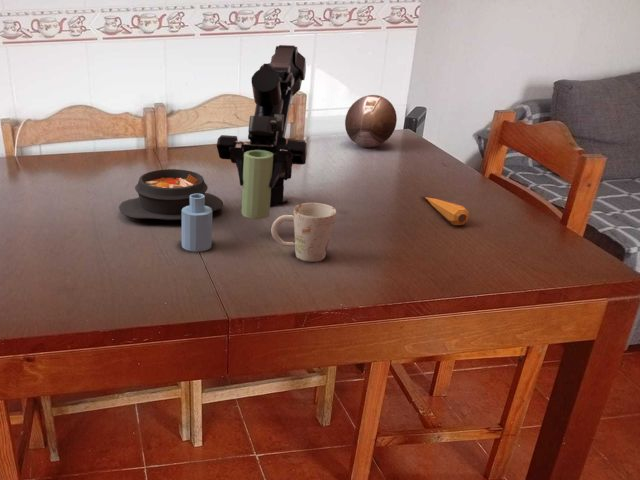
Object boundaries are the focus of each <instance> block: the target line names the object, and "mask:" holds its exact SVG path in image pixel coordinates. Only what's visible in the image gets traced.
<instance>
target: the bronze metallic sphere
mask: <svg viewBox="0 0 640 480" xmlns="http://www.w3.org/2000/svg"><path fill="white" fill-rule="evenodd" d="M397 121H398V117H397V112H396V109H395V107H394V105H393V104H392V102H390V101H389V99H387V98H386V97H384V96H381V95H378V94H368V95H365V96H362V97H359V98H358V99H357V100H355V101H354V102H353V103H352V104H351V105H350V107H349V108H348V110H347V112H346V115H345V119H344V127H345V131H346V134H347V136H348V138H349V139H350V140H351V141H352V142H353V143H355V144H356V145H358V146H360V147H363V148H374V147H378V146H381V145H382V144H384V143H385V142H387V141H388V140H389V139H390V138H391V136H392V135H393V133H395V129H396V127H397Z"/></svg>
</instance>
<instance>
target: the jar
mask: <svg viewBox="0 0 640 480" xmlns="http://www.w3.org/2000/svg"><path fill="white" fill-rule="evenodd" d="M272 168H273V153H272V152H269V151H265V150H251V151H247V152H245V153H244V166H243V185H242V191H241V192H242V193H241V215H242V216H243V217H244V218H247V219H252V220H253V219H254V220H257V219H265V218H267V217H269V216H270V211H271V210H270V209H271V206H270V197H271V188H270V183H271V178H272Z"/></svg>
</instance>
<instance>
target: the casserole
mask: <svg viewBox="0 0 640 480" xmlns="http://www.w3.org/2000/svg"><path fill="white" fill-rule="evenodd" d="M134 190H135V192H136V193H137V194H138V197H134V198H129V199H127V200H124V201H122V202H121V203H120V204H119V206H118V209H119V211H120V212H121V213H122V214H123V215H125V216H127V217H129V218H132V219H139V220H147V219H149V220H151V219H152V220H160V221H168V222H169V221H171V222H172V221H173V222H174V221H182V209H183V208H184V207H186V206H190V195H191V194H203V195H205V206H208V207H210V208H212V212H214V211H219V210H220V209H222V208H223V207H224V201H223V200H222V199H221V198H220V197H218V196H217V195H215V194H212V193H209V192H207V191H208V185H207V183H206V182H205V179H204V177H203V175H201V174H199V173H198V172H195V171H192V170H187V169H175V168H168V169H167V168H166V169H158V170H157V169H156V170H151V171H148V172H146V173H143V174H142V175H140V177H139V178H138V181H137V183H136V184H135V186H134Z"/></svg>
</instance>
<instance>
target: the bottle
mask: <svg viewBox="0 0 640 480" xmlns="http://www.w3.org/2000/svg"><path fill="white" fill-rule="evenodd" d="M212 245H213V211H212V208H210V207H208V206H205V195H203V194H191V195H190V206H186V207H184V208H183V209H182V220H181V248H182V249H183V250H185V251H188V252H196V253H197V252H199V253H200V252H205V251H208V250H210V249H211V248H212Z"/></svg>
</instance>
